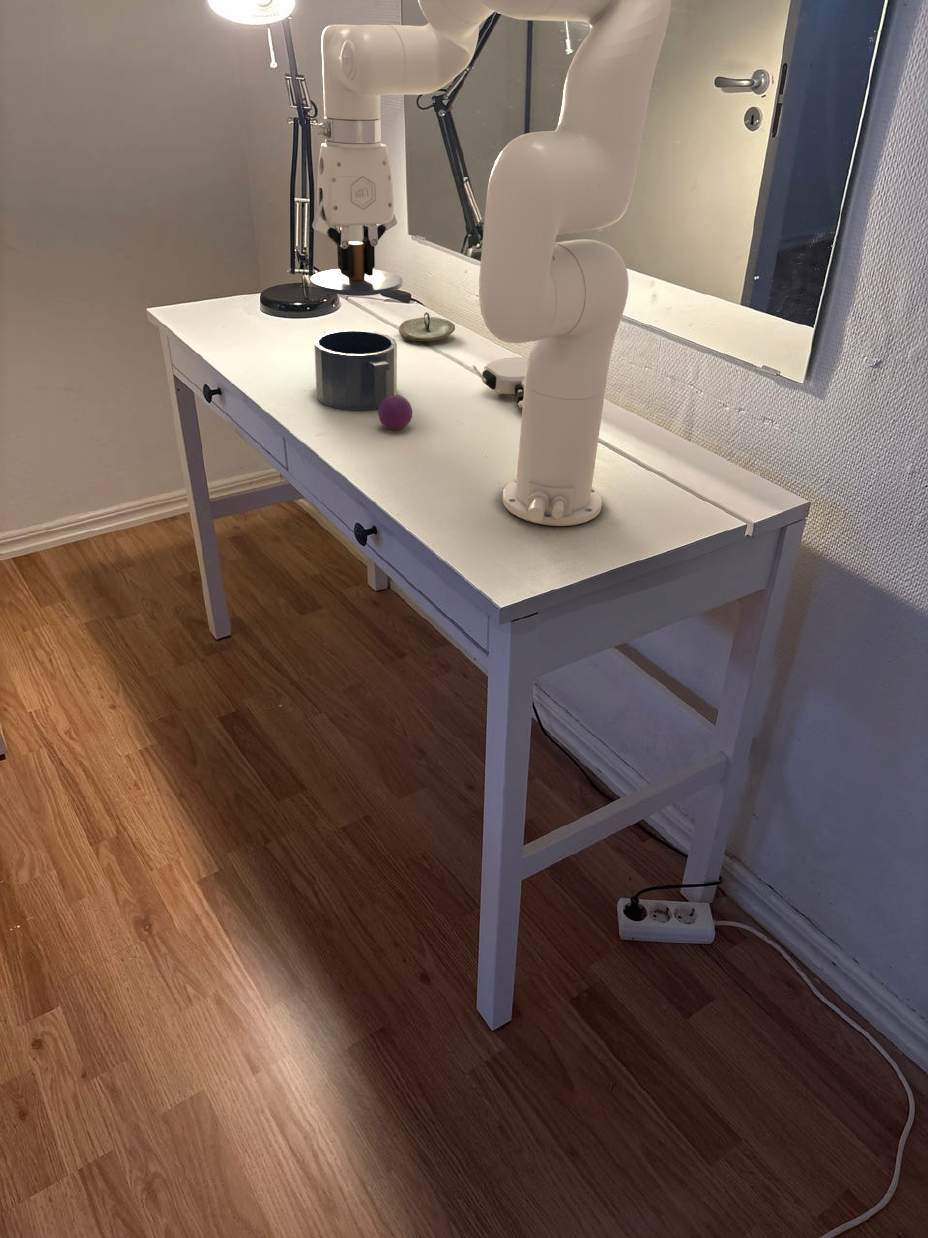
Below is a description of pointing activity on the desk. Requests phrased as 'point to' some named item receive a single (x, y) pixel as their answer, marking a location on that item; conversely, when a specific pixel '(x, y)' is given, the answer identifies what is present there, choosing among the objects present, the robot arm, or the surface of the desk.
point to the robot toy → (506, 376)
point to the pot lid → (356, 278)
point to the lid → (426, 328)
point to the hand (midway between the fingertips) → (356, 273)
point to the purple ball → (395, 412)
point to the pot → (355, 368)
